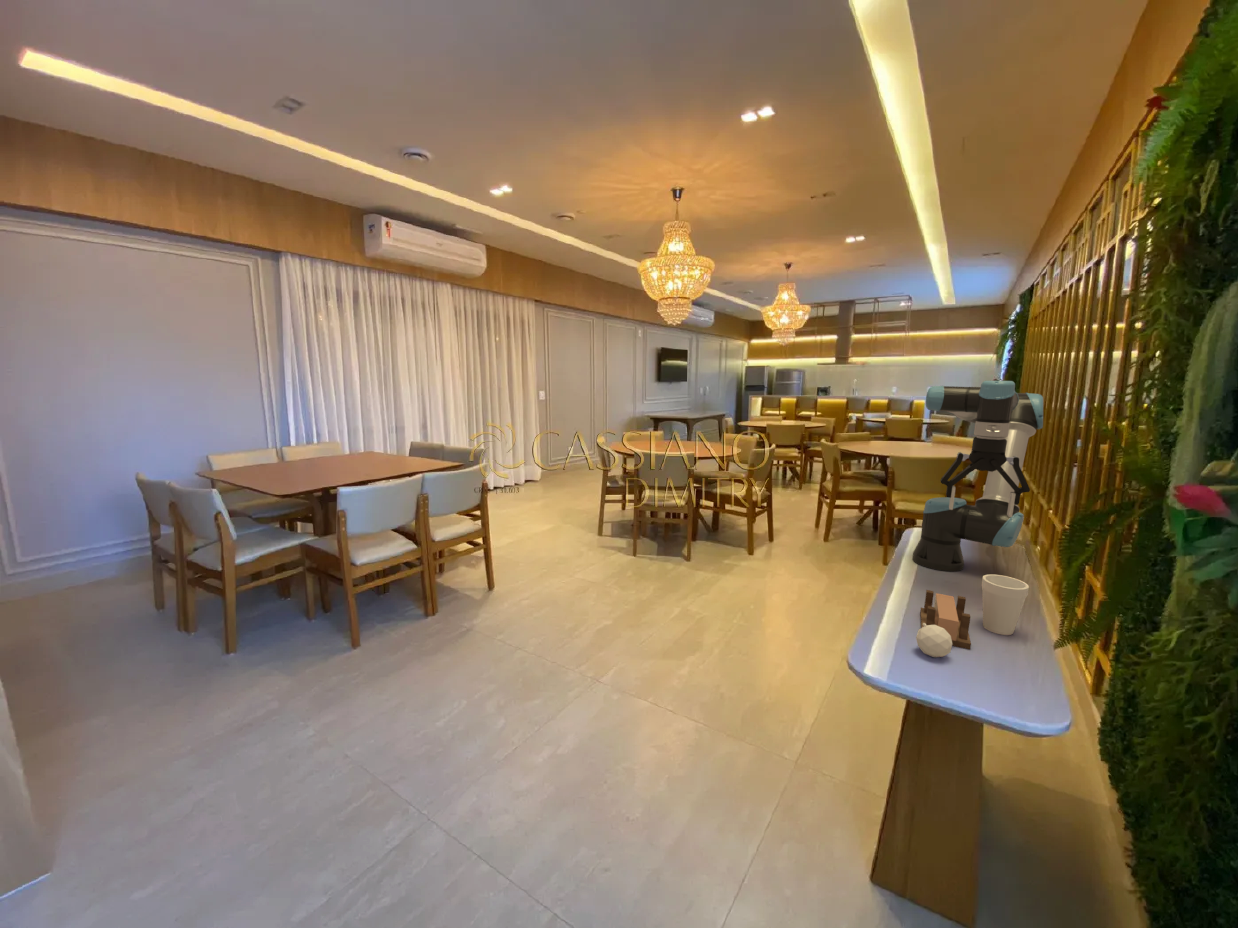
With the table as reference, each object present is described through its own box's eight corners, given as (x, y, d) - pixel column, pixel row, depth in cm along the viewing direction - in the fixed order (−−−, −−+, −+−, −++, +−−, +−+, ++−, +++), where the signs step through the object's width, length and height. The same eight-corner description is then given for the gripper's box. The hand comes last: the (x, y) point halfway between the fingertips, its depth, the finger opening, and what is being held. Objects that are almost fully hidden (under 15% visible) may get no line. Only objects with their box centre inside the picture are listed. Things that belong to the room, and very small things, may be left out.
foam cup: (1008, 641, 123) (1016, 592, 121) (968, 624, 131) (974, 578, 129) (1028, 632, 127) (1036, 585, 125) (988, 617, 136) (995, 572, 133)
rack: (920, 612, 138) (923, 586, 136) (963, 621, 133) (967, 595, 132) (921, 638, 124) (925, 610, 123) (970, 649, 119) (974, 620, 118)
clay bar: (956, 640, 120) (958, 621, 119) (936, 636, 122) (939, 617, 121) (951, 613, 134) (953, 596, 133) (933, 610, 136) (935, 593, 135)
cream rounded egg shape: (932, 664, 113) (912, 630, 115) (924, 659, 120) (905, 627, 122) (963, 653, 111) (942, 618, 114) (953, 648, 118) (934, 615, 121)
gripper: (937, 435, 140) (928, 508, 144) (1052, 442, 128) (1038, 522, 132) (936, 433, 146) (927, 503, 150) (1045, 439, 134) (1032, 515, 138)
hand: (979, 512), depth 141 cm, fingers open, 13 cm apart
